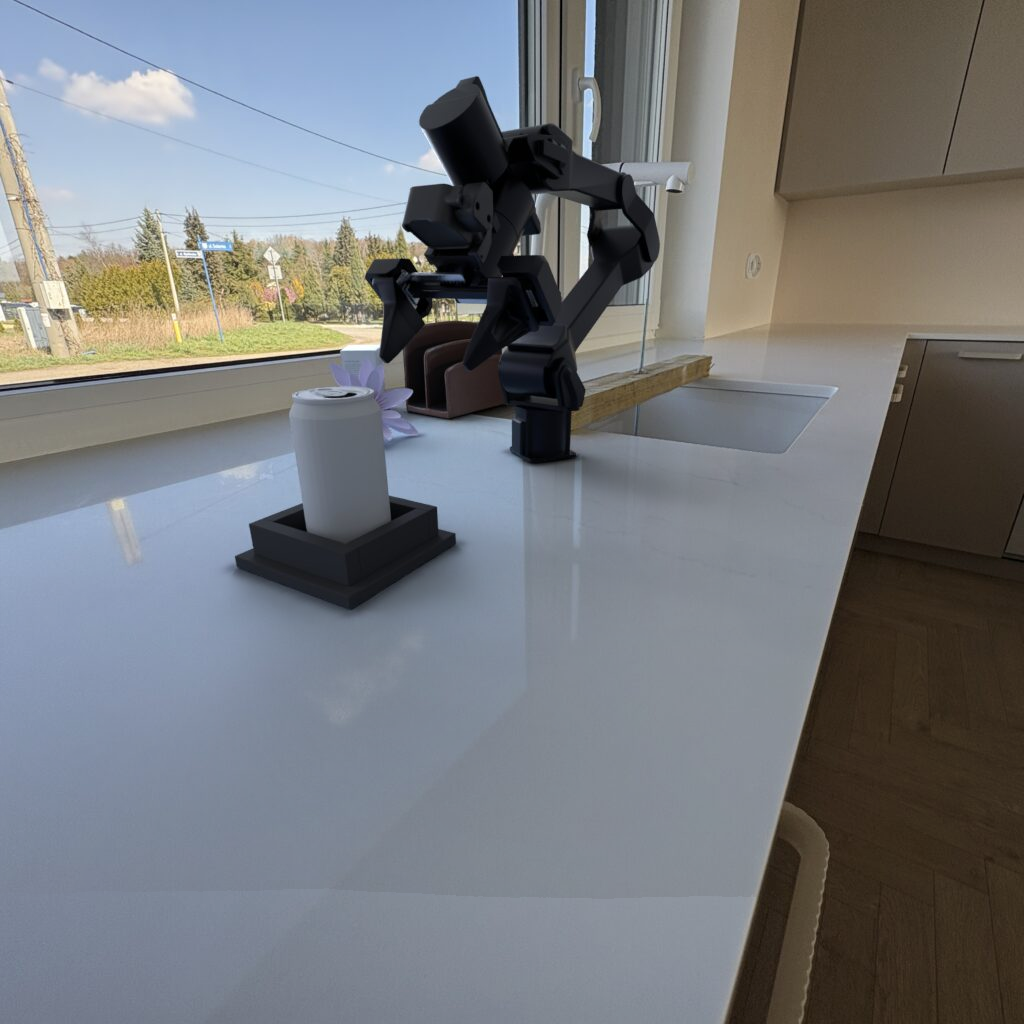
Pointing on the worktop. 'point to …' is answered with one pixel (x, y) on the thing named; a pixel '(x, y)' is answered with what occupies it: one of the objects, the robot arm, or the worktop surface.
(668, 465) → the worktop surface
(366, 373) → the water lily
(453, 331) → the letter holder
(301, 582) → the socket pad
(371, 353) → the small box
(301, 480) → the beverage can
